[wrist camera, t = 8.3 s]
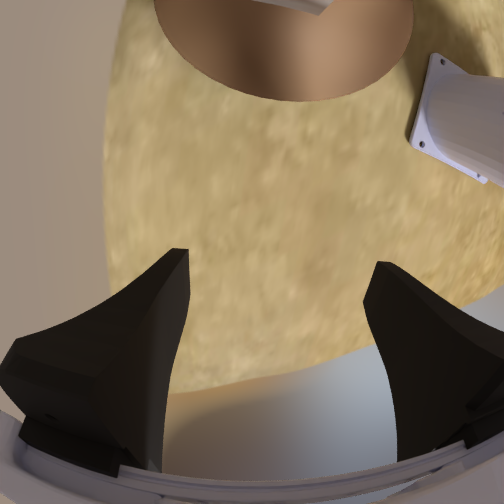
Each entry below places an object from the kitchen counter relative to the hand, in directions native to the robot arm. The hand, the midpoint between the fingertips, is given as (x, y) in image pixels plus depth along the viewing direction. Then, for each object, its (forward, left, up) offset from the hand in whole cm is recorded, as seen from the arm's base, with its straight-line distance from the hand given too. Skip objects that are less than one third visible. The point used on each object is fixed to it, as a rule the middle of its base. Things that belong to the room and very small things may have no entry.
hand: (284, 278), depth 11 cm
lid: (+2, -13, -6) cm, 14 cm away
